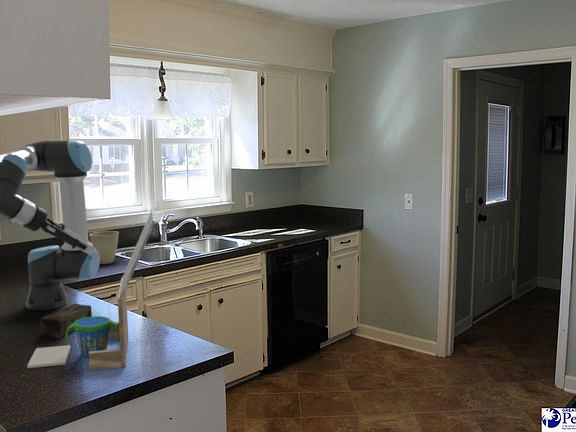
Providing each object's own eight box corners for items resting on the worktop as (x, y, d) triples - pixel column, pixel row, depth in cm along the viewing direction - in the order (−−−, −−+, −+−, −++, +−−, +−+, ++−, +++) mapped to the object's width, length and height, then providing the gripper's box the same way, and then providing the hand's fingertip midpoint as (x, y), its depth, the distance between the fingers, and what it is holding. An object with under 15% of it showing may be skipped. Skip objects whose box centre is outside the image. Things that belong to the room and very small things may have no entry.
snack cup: (122, 345, 177) (121, 314, 176) (117, 358, 167) (116, 325, 165) (71, 348, 175) (69, 317, 173) (62, 361, 164) (60, 328, 163)
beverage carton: (93, 321, 202) (92, 303, 201) (59, 339, 184) (58, 320, 183) (74, 319, 204) (73, 302, 203) (39, 337, 186) (37, 318, 185)
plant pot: (115, 258, 310) (113, 230, 308) (123, 263, 298) (122, 233, 296) (87, 261, 302) (85, 232, 300) (95, 266, 290) (93, 236, 288)
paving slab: (36, 350, 173) (36, 348, 173) (70, 347, 176) (70, 345, 175) (27, 368, 160) (27, 365, 160) (64, 364, 162) (64, 361, 162)
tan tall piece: (97, 338, 184) (90, 211, 178) (159, 332, 188) (154, 209, 183) (89, 370, 158) (81, 223, 152) (161, 363, 162) (155, 220, 157)
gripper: (12, 216, 182) (67, 245, 196) (33, 236, 163) (92, 267, 177) (25, 196, 183) (80, 226, 197) (48, 214, 164) (106, 246, 178)
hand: (86, 246), depth 187 cm, fingers open, 13 cm apart
